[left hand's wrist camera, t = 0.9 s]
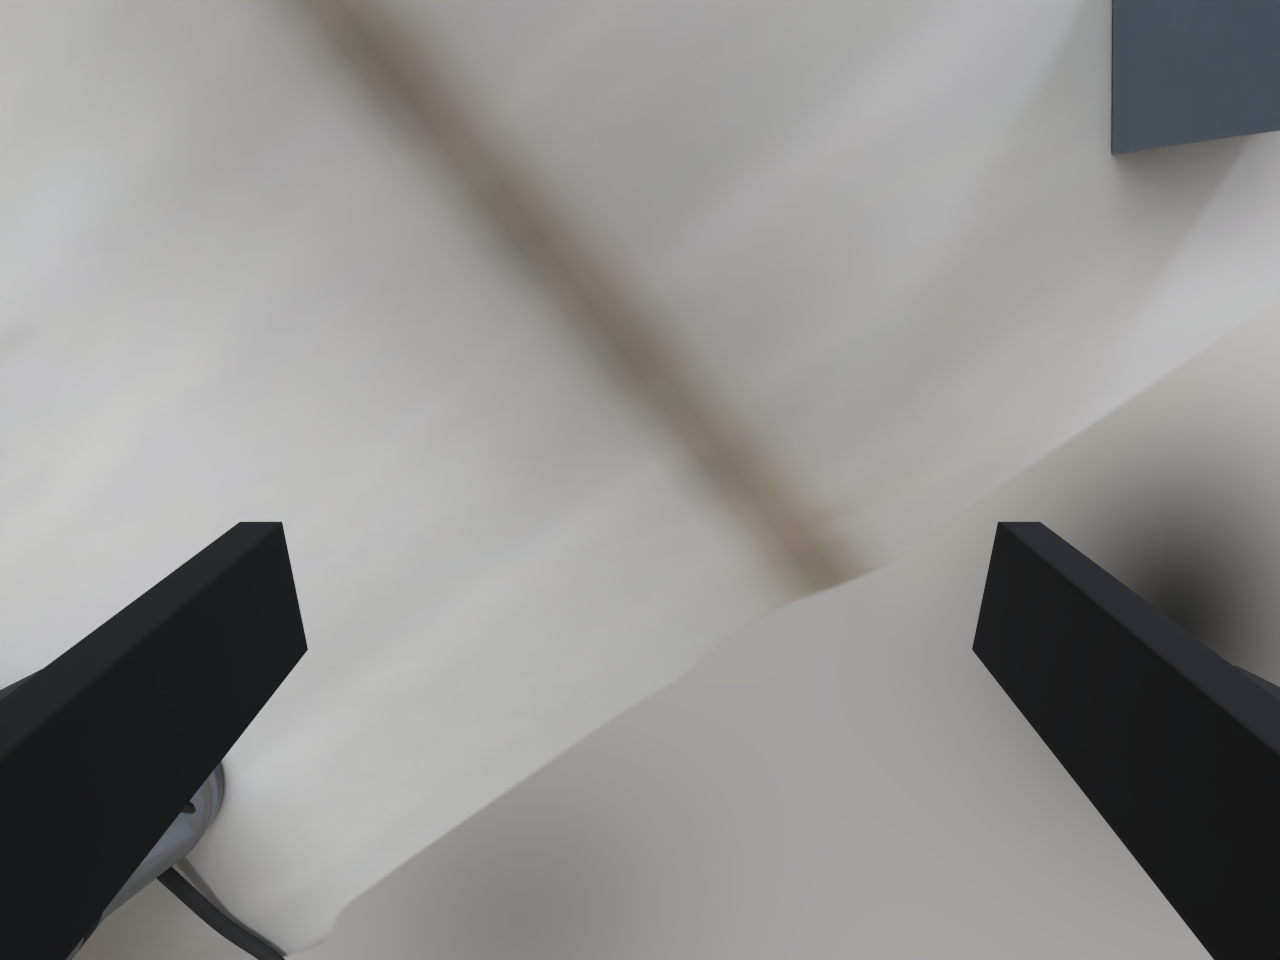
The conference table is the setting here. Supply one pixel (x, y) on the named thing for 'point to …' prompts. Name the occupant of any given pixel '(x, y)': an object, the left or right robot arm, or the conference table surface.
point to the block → (1193, 71)
